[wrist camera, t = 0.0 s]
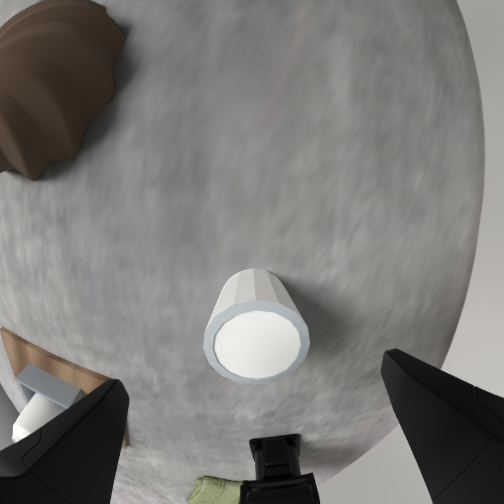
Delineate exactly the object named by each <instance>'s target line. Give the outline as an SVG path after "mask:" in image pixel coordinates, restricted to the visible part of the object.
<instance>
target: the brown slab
mask: <svg viewBox="0 0 504 504" xmlns="http://www.w3.org/2000/svg"><path fill="white" fill-rule="evenodd" d="M0 333H1V336H2V340H3V343H4V346H5V350H6V353H7V356H8V359H9V362H10V364H11V367H12V370H13V373H14V375H15V378H16V377H17V376H18V375H19V373H20V372H21V371H22V370H23V369H24V368H25V366H26V365H27V364H28V363H30V364H32V365H34V366H36V367H38V368H39V369H41V370H43V371H45V372H47V373H49V374H51V375H53V376H55V377H57V378H59V379H61V380H63V381H65V382H68V383H70V384H72V385H74V386H76V387H79V388H81V391H82V395H83V397H84V396H86V395H87V394H88V393H90V392H91V391H93V390H94V389H95V388H97V387H98V386H100V385H101V384H102V383H104V382H105V381H107V380H108V379H111V378H108V377H106V376H103V375H100V374H98V373H95V372H92V371H90V370H87V369H85V368H82V367H80V366H78V365H75V364H73V363H71V362H68V361H66V360H64V359H62V358H60V357H58V356H55V355H53V354H51V353H49V352H47V351H45V350H43V349H41V348H39V347H37V346H35V345H33V344H32V343H30V342H28V341H26V340H24V339H22V338H21V337H19V336H17V335H15V334H14V333H12V332H10V331H9V330H7V329H5V328H4V327H2V328H1V329H0ZM17 383H18V382H17ZM19 388H20V387H19ZM22 395H23V394H22ZM23 397H24V396H23ZM127 446H128V445H127V440H126V434H125V435H124V439H123V444H122V448H125V449H126V448H127Z"/></svg>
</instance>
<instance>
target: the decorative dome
mask: <svg viewBox="0 0 504 504" xmlns="http://www.w3.org/2000/svg"><path fill="white" fill-rule="evenodd" d="M124 41H125V35H124V33H123V32H122V30H121V29H120V28H119V26H118V25H117V24H116V23H115V22H114V20H112V19H111V18H110V17H109V16H108V15H107V14H106V9H105V7H103V6H102V5H100V4H98V3H96V2H93V1H91V0H44V1H41V2H39V3H36V4H34V5H32V6H30V7H28V8H26V9H24V10H22V11H21V12H19V13H18V14H16V15H15V16H13V17H12V18H11V19H9V20H8V21H7V22H6V23H5V24H4V25H3V26H2V27H1V28H0V173H1V172H4V171H7V170H11V169H16V170H17V171H19V172H20V173H22V174H23V175H25V176H26V177H27V178H28V179H30V180H32V181H35V180H36V179H37V178H38V177H39V176H40V175H41V173H42V172H43V171H44V170H45V169H46V168H47V167H48V166H49V165H50V163H52V162H55V161H59V160H64V159H69V158H73V157H75V156H76V155H77V154H78V152H79V149H80V146H81V143H82V140H83V138H84V135H85V132H86V130H87V127H88V124H89V122H90V121H91V120H92V119H93V118H94V117H95V116H96V115H97V114H98V113H99V112H100V111H101V110H102V109H103V108H104V107H105V106H106V105H107V104H108V103H109V102H110V101H112V99H113V98H114V95H115V85H114V75H113V65H114V62H115V60H116V58H117V56H118V54H119V52H120V50H121V47H122V45H123V43H124Z"/></svg>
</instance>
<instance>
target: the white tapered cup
mask: <svg viewBox="0 0 504 504" xmlns="http://www.w3.org/2000/svg"><path fill="white" fill-rule="evenodd" d="M309 346H310V339H309V332H308V327H307V325H306V323H305V322H304V320H303V318H302V316H301V315H300V313H299V311H298V310H297V308H296V306H295V304H294V303H293V301H292V299H291V297H290V296H289V294H288V292H287V290H286V289H285V287H284V286H283V284H282V283H281V281H280V280H279V279H278V277H276V276H275V275H273V274H271V273H270V272H268V271H266V270H260V269H248V270H244V271H240V272H238V273H237V274H235V275H234V276H232V277H231V278H229V279H228V281H227V282H226V284H225V286H224V287H223V289H222V291H221V293H220V296H219V298H218V301H217V303H216V305H215V308H214V310H213V313H212V315H211V318H210V320H209V323H208V325H207V327H206V330H205V335H204V345H203V349H204V352H205V354H206V356H207V359H208V361H209V364H210V365H211V366H213V367H214V368H215V369H216V370H217V371H218V372H219V373H220V374H221V375H222V376H224V377H227V378H229V379H231V380H234V381H236V382H238V383H246V384H256V385H259V384H264V383H270V382H275V381H278V380H280V379H282V378H284V377H286V376H287V375H289V374H291V373H293V372H294V371H295V370H296V369H297V368H298V367H299V365H300V364H301V363H302V362H303V361H304V360H305V358H306V355H307V352H308V349H309Z"/></svg>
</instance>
